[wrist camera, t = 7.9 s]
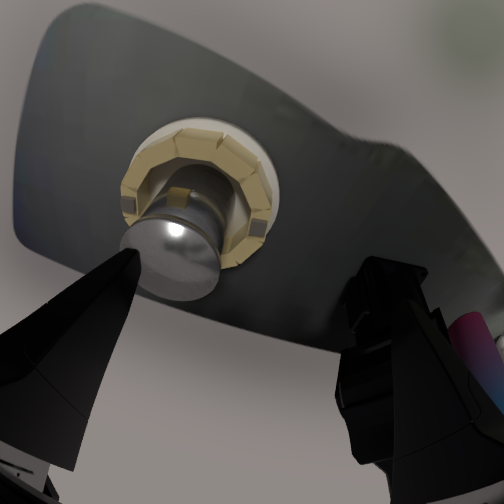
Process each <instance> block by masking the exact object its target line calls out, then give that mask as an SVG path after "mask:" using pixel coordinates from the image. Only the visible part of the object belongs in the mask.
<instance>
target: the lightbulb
mask: <svg viewBox="0 0 504 504" xmlns="http://www.w3.org/2000/svg"><path fill="white" fill-rule="evenodd" d="M496 347H497V349H498V351H499V353H500V356H501V358H502V361H503V363H504V336H503V335H502V336H500V337H499V338H498V341H497V342H496Z"/></svg>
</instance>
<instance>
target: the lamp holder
mask: <svg viewBox="0 0 504 504" xmlns="http://www.w3.org/2000/svg"><path fill="white" fill-rule="evenodd" d="M191 164H203V165H207V166H210V167H213V168H215V169H217V170H218V171H220V172H221V173H222V174H224V175H225V176H226V177H227V178H228V180H229V181H230V182H231V184H232V186H233V188H234V191H235V197H236V202H235V207H234V211H233V214H232V218H231V221H230V225H229V228H228V232H227V235H226V239H225V242H224V246H223V250H222V253H221V269H224V268H229V267H233V266H238V263H239V264H241V263H242V262H244V261H245V260H246V259H247V258H248V257H249V256H250V255H252V254H253V253H254V252H255V251H256V250H257V249H258V248H260V247H261V246H262V245H263V242H264V241H265V237H266V234H267V233H268V231H269V230H270V229H271V227H272V225H273V223H274V221H275V218H276V215H277V212H278V206H279V179H278V174H277V171H276V167H275V165H274V163H273V161H272V159H271V157H270V155H269V154H268V152H267V151H266V149H265V148H264V147H263V146H262V144H261V143H260V142H259V141H258V140H257V139H256V138H255V137H254V136H252V135H251V134H250V133H249V132H247V131H246V130H244V129H243V128H241V127H239V126H237V125H235V124H233V123H231V122H228V121H225V120H222V119H218V118H213V117H203V116H197V117H187V118H183V119H178V120H176V121H173V122H170V123H168V124H167V125H165V126H163V127H161V128H160V129H158V130H157V131H156V132H155V133H153V134H152V135H151V136H149V137H148V138H147V139H146V140H145V141H144V142H143V143H142V144H141V145H140V147H139V148H138V150H137V151H136V153H135V154H134V157H133V159H132V161H131V164H130V167H129V169H128V171H127V173H126V175H125V177H124V179H123V181H122V185H121V196H122V197H121V198H120V203H121V211H123V216H126V218H125V220H126V222H127V223H128V225H129V226H131V225H132V224H133V223H134V222H135V221H136V220H138V219H139V218H141V216H142V215H143V213H144V212H145V211H146V209H147V208H148V206H149V205H150V204H151V202H152V201H153V199H154V198H155V197H156V195H157V194H158V193H159V191H160V190H161V189H162V187H163V186H164V185H165V183H166V182H167V181H168V179H169V178H170V177H171V175H172V174H173V173H174V172H175V171H176V170H178V169H179V168H181V167H183V166H187V165H191Z"/></svg>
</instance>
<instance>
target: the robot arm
mask: <svg viewBox="0 0 504 504" xmlns="http://www.w3.org/2000/svg"><path fill="white" fill-rule="evenodd" d="M370 262H373V263H370ZM141 270H142V267H141V259H140V252H139V250H138V249H134V248H129V247H127V248H125V249H123V250H122V251H120V252H119V253H117V254H116V255H114V256H113V257H111V258H110V259H108V260H107V261H105V262H104V263H102V264H101V265H99V266H98V267H96V268H95V269H93V270H92V271H90V272H89V273H87V274H86V275H84V276H83V277H82V278H80V279H79V280H77V281H76V282H74V283H73V284H72V285H70V286H69V287H67V288H66V289H65V290H63V291H62V292H60V293H59V294H58V295H56V296H55V297H54V298H52V299H51V300H50V301H48V304H47V303H45V304H44V305H43V306H41V307H40V308H39V309H37V310H36V311H35V312H33V313H32V314H30V315H29V316H28V317H26V318H25V319H23V320H22V321H20V322H19V323H17V324H16V325H14V326H13V327H11V328H10V329H8V330H7V331H5V332H3V333H2V334H0V504H62V503H60V502H58V501H59V495H58V494H57V492H56V490H55V488H54V486H53V484H52V482H51V480H50V478H49V476H48V470H49V466H50V464H53V465H56V466H58V467H61V468H64V469H66V470H69V471H72V472H73V471H74V468H75V464H76V460H77V457H78V453H79V450H80V446H81V443H82V440H83V436H84V433H85V429H86V426H87V423H88V419H89V417H90V413H91V410H92V407H93V404H94V401H95V398H96V396H97V392H98V390H99V387H100V384H101V381H102V379H103V376H104V373H105V371H106V368H107V365H108V363H109V360H110V358H111V355H112V352H113V350H114V347H115V345H116V342H117V340H118V337H119V335H120V333H121V330H122V328H123V325H124V323H125V321H126V318H127V316H128V313H129V310H130V307H131V304H132V300H133V297H134V294H135V291H136V288H137V285H138V281H139V278H140V275H141ZM427 275H428V271H427V269H426V268H424V267H420V266H416V265H411V264H407V263H402V262H397V261H393V260H388V259H384V258H379V257H374V256H370V257H368V258H367V259H366V261H365V263H364V265H363V266H362V268H361V270H360V272H359V274H358V276H356V277H355V278H354V280H353V282H352V284H351V286H350V287H349V289H348V291H347V293H346V295H345V299H344V301H343V303H342V306H343V309H345V310H347V313H348V321H349V328H350V331H351V332H352V333H355V337H356V345H357V346H355V347H352V348H350V349H348V348H347V349H344V350H342V351H341V358H340V364H339V371H338V378H337V384H336V390H335V399H336V403H337V406H338V409H339V411H340V413H341V415H342V417H343V418H344V420H345V422H346V425H347V429H348V432H349V437H350V443H351V451H352V455H353V456H354V458H355V459H356V460H357V462H358V463H359V464H360V465H364V464H369V463H374V464H375V465H376V466H377V467H378V468H379V469H381V470H382V471H383V472H384V473H385V474H386V477H387V481H388V487H389V492H390V498H391V501H390V504H504V415H503V413H502V412H501V411H500V410H499V408H498V407H497V406H496V404H495V403H494V402H493V401H492V399H491V398H490V397H489V395H488V394H487V393H486V392H485V390H484V389H483V388H482V386H481V385H480V384H479V382H478V381H477V380H476V378H475V377H474V375H473V374H472V373H471V371H470V370H469V369H468V367H467V366H466V364H465V363H464V362H463V360H462V359H461V358H460V356H459V355H458V354H457V352H456V351H455V350H454V348H453V345H452V341H451V338H450V335H449V332H448V330H447V327H446V324H445V321H444V319H443V316H442V313H441V311H440V308H439V307H438V308H436V309H434V310H433V312H431V313H430V311H429V308H428V305H427V303H426V300H425V297H424V294H423V292H422V289H421V287H420V285H421V284H422V282H423V281H424V279H425V278H426V277H427Z"/></svg>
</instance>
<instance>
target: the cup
mask: <svg viewBox="0 0 504 504" xmlns="http://www.w3.org/2000/svg"><path fill="white" fill-rule="evenodd" d="M448 332H449V335H450V338H451V341H452V345H453V348H454V350H455V351H456V352H457V354H458V355H459V356H460V358H461V359H462V360H463V362H464V363H465V364H466V366H467V367H468V369H469V370H470V371H471V373H472V374H473V375H474V377H475V378H476V380H477V381H478V382H479V384H480V385H481V386H482V388H483V389H484V390H485V392H486V393H487V394H488V395H489V397H490V398H491V399H492V401H493V402H494V403H495V404H496V406H497V407H498V408H499V410H500V411H501V412H502V413H503V415H504V363H503V361H502V358H501V356H500V353H499V351H498V349H497V347H496V344H495V342H494V340H493V338H492V336H491V334H490V331H489V329H488V327H487V325H486V323H485V321H484V319H483V317H482V315H481V314H480V313H479V312H471V313H468V314H465V315H463V316H461V317H460V318H458V319H457V320H456V321H455V322H454V323H453V324H452V325H451V326H450V328H449V331H448Z"/></svg>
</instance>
